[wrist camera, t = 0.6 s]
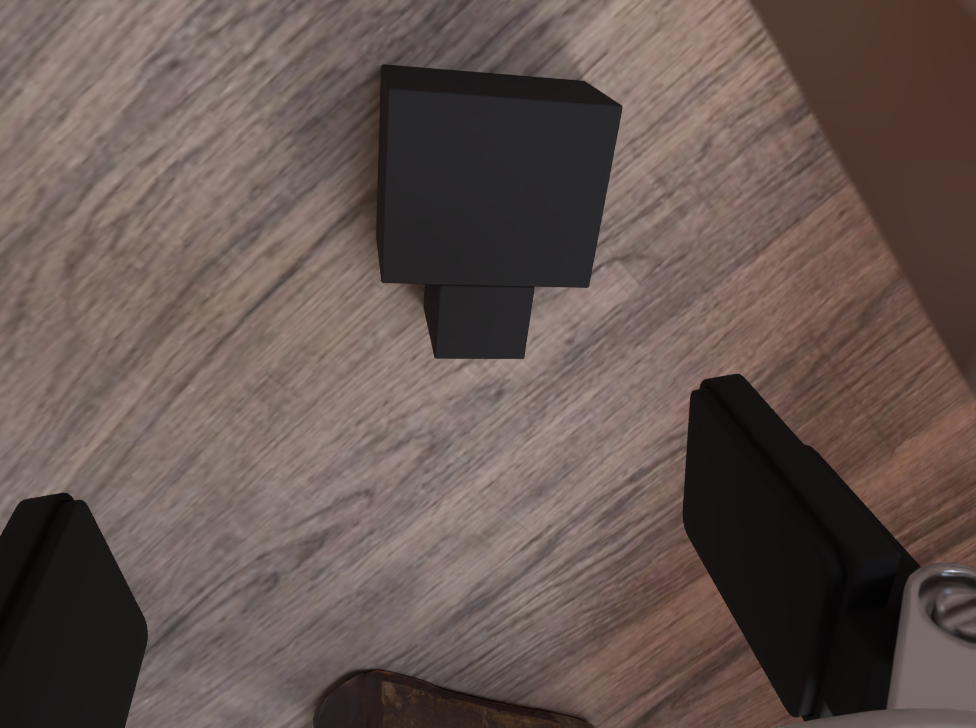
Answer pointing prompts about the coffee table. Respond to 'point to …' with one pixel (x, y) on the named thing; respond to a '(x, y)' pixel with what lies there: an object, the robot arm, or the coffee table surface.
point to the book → (422, 707)
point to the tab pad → (489, 197)
